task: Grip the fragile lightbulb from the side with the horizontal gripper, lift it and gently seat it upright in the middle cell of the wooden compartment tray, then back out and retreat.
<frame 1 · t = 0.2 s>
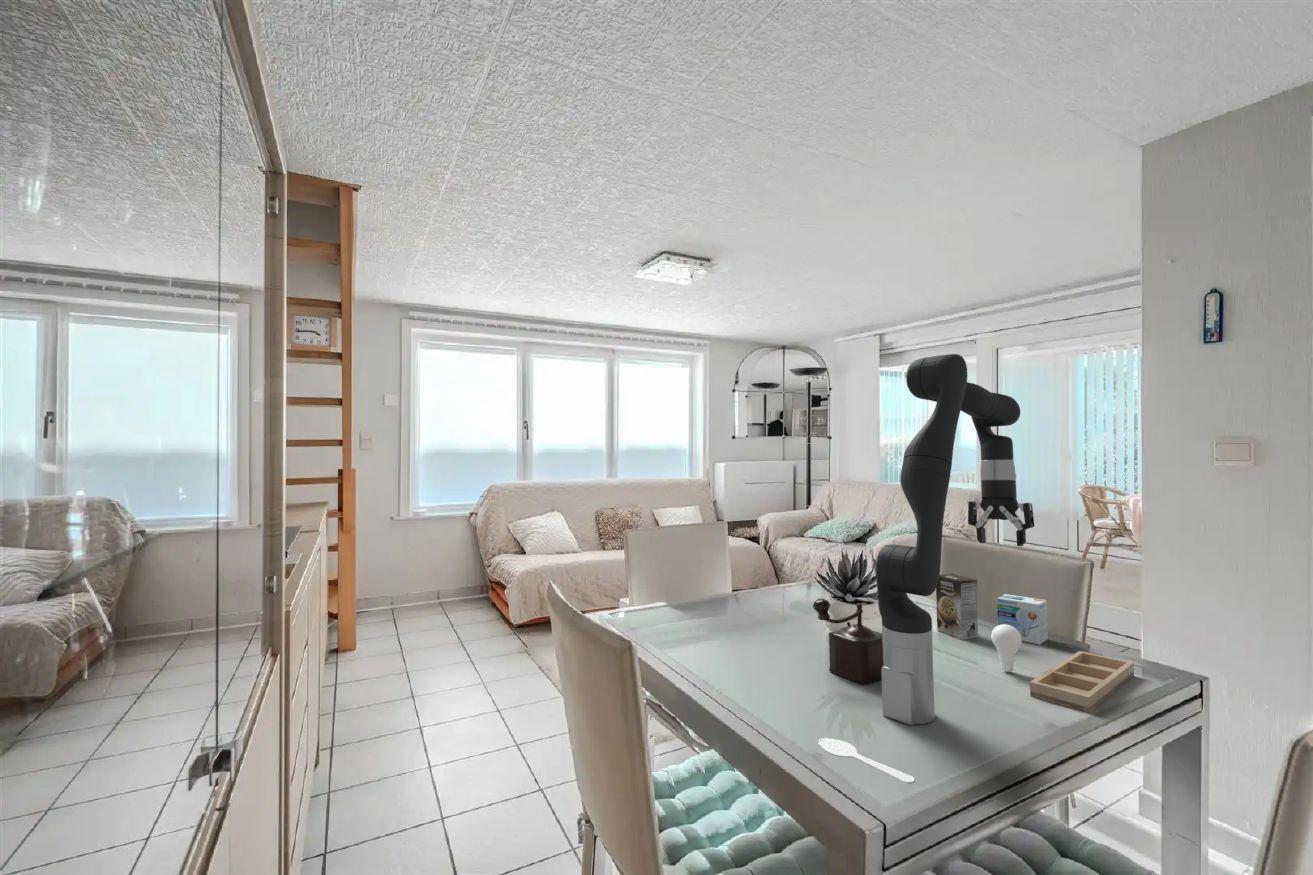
hand: (1001, 544, 146), 29 cm above the table, tool pointing down, fingers open, 8 cm apart
wooden compartment tray: (1084, 685, 130), on the table
lightbulb: (1007, 672, 138), on the table
spoon: (863, 762, 101), on the table
cookie box: (957, 634, 167), on the table
light bulb box: (1022, 638, 163), on the table
manual coffee grinder: (852, 676, 138), on the table
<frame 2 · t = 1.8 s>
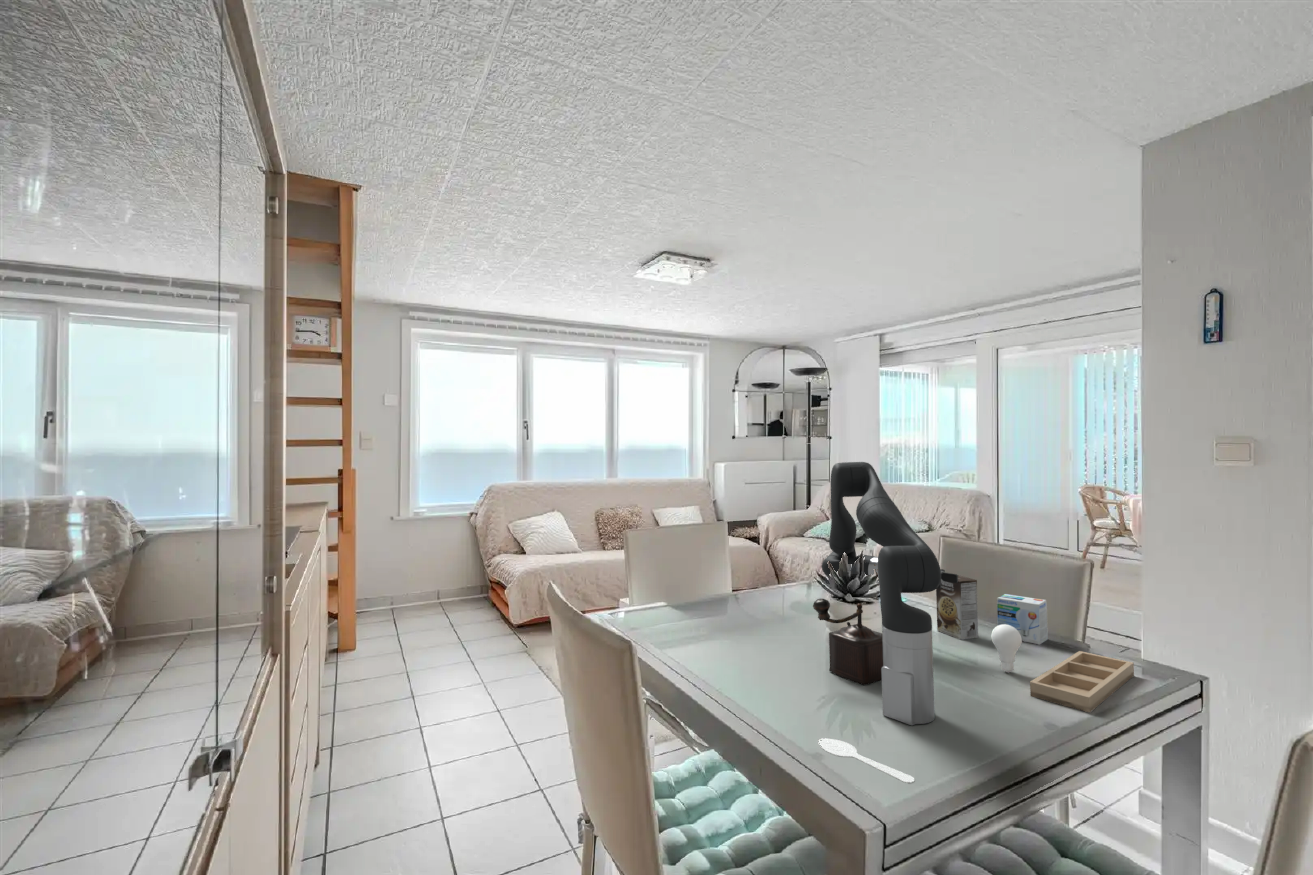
hand: (949, 581, 149), 19 cm above the table, tool horizontal, fingers open, 8 cm apart
nothing on the table moved.
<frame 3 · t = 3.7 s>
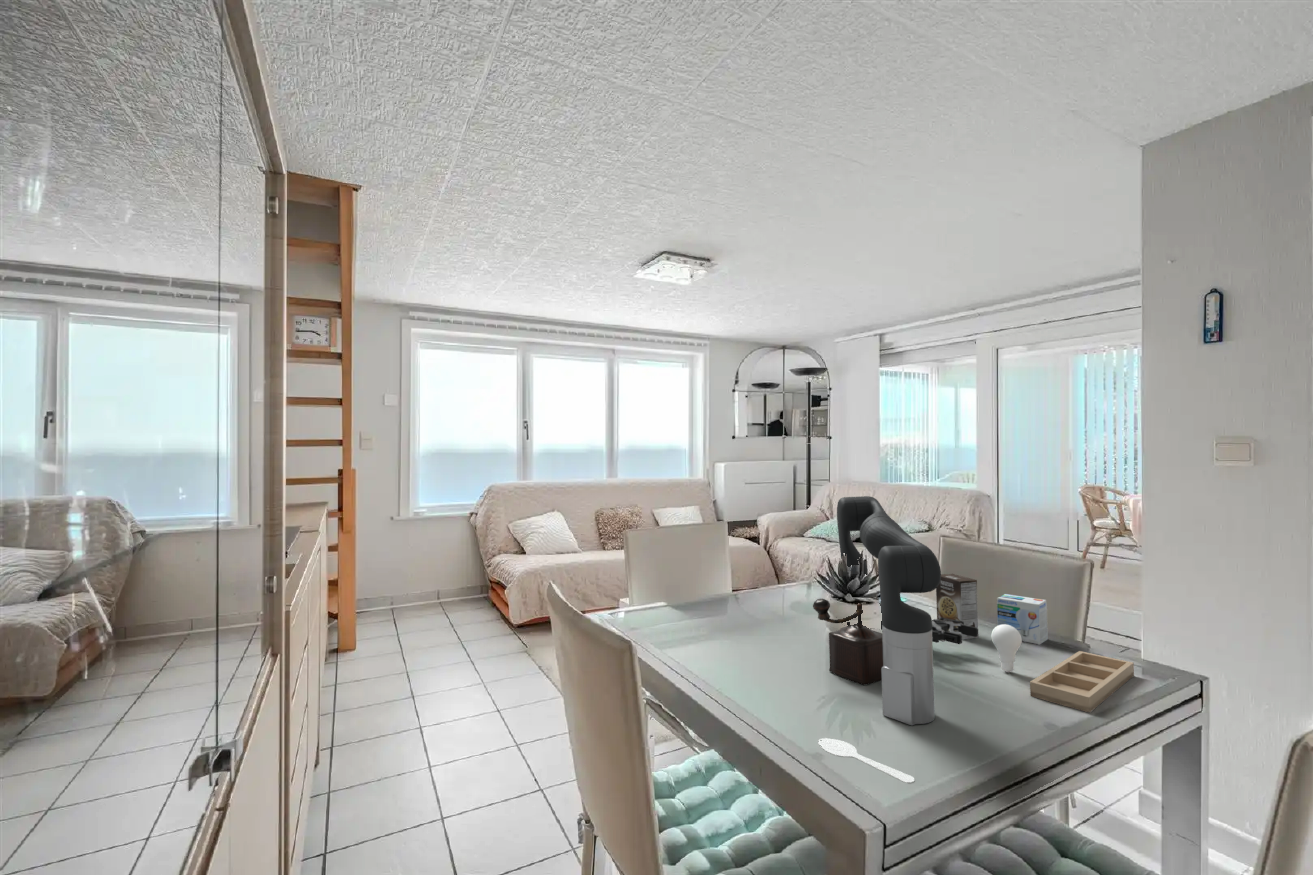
hand: (969, 636, 145), 6 cm above the table, tool horizontal, fingers open, 8 cm apart
nothing on the table moved.
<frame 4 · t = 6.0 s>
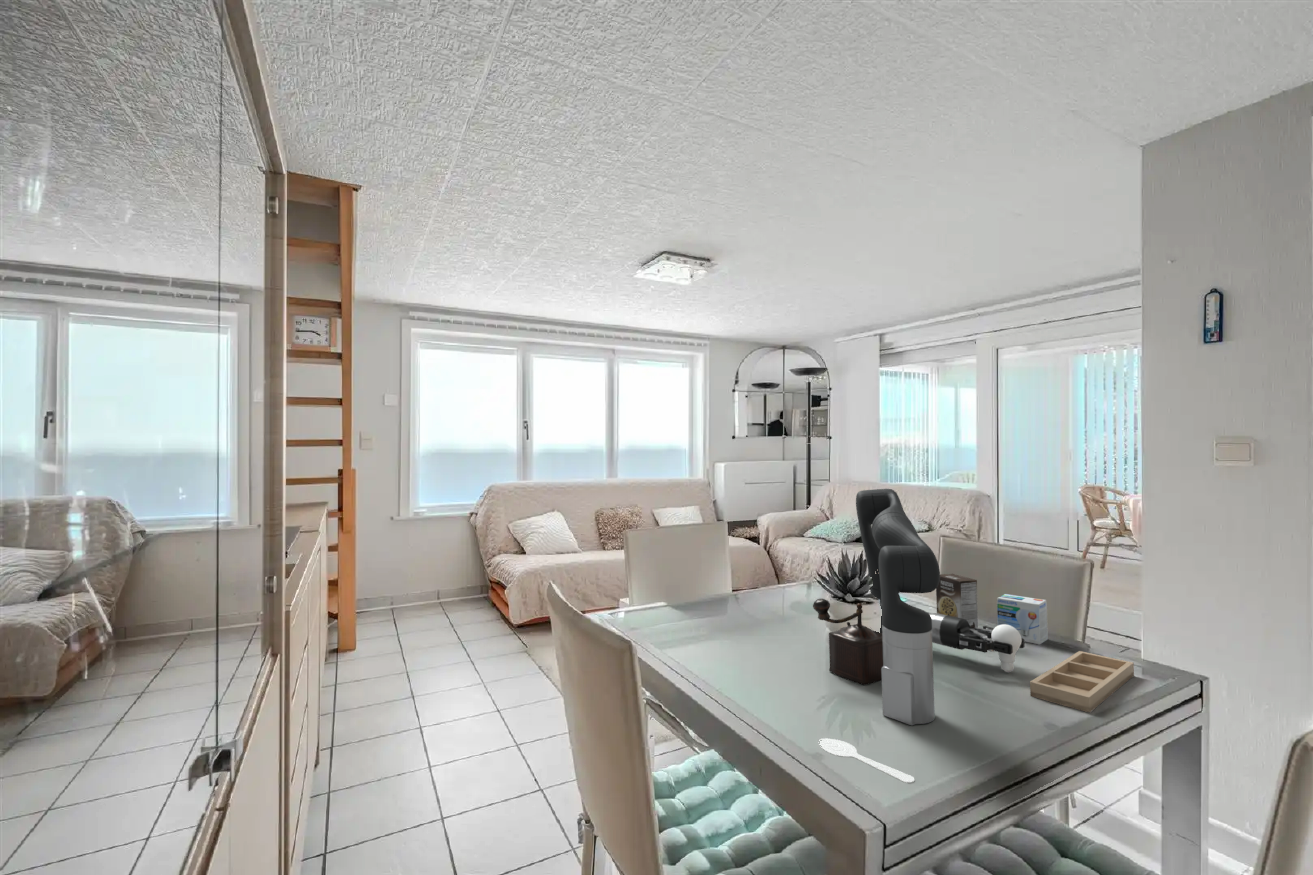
hand: (1017, 646, 137), 7 cm above the table, tool horizontal, fingers closed on lightbulb, 6 cm apart
lightbulb: (1007, 672, 138), on the table, touching gripper
everything else where it was.
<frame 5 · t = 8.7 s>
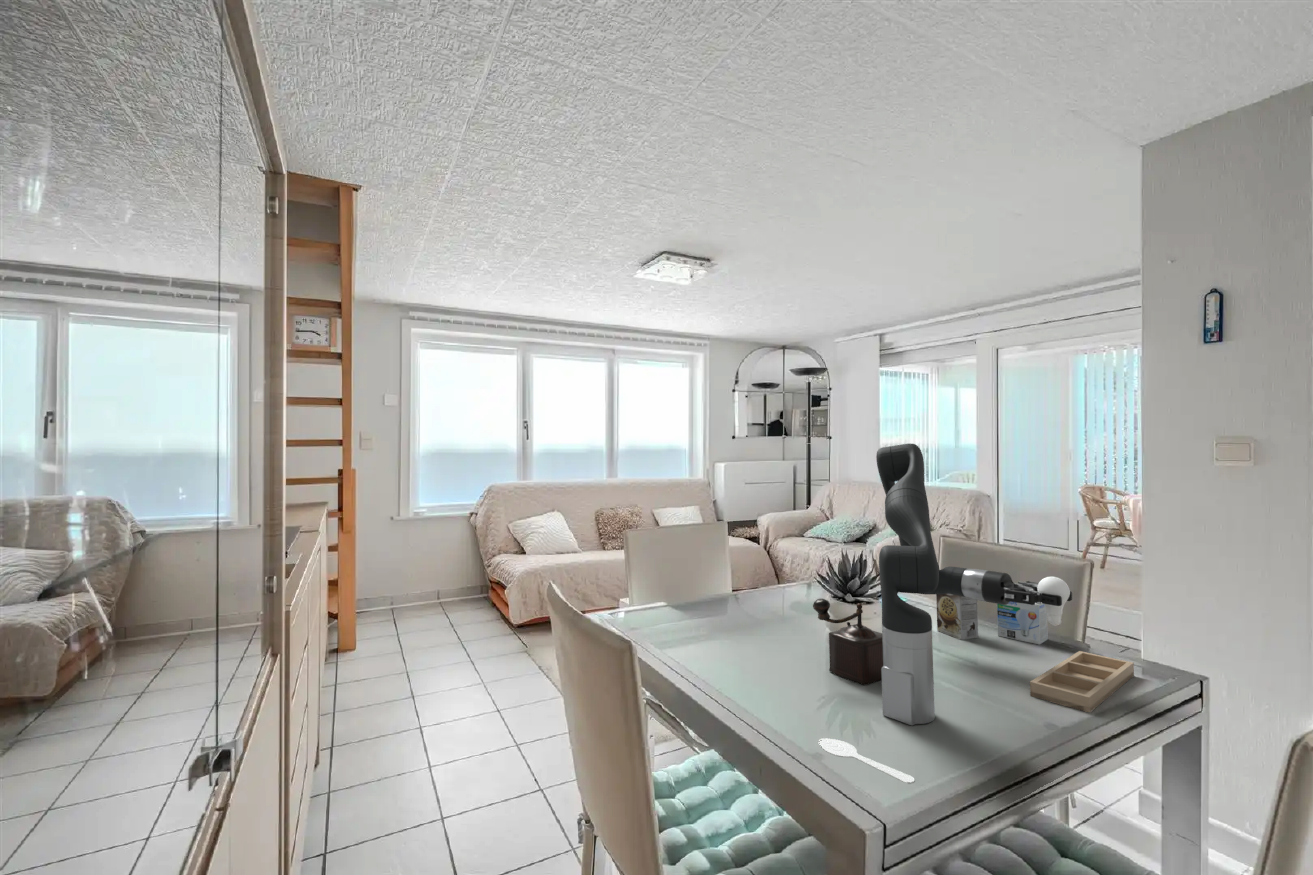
hand: (1066, 598, 132), 19 cm above the table, tool horizontal, fingers closed on lightbulb, 6 cm apart
lightbulb: (1054, 626, 133), point 12 cm above the table, touching gripper
everything else where it was.
when the fingers open (9 cm above the table, at t = 11.5 s): lightbulb drops 1 cm, resting on wooden compartment tray.
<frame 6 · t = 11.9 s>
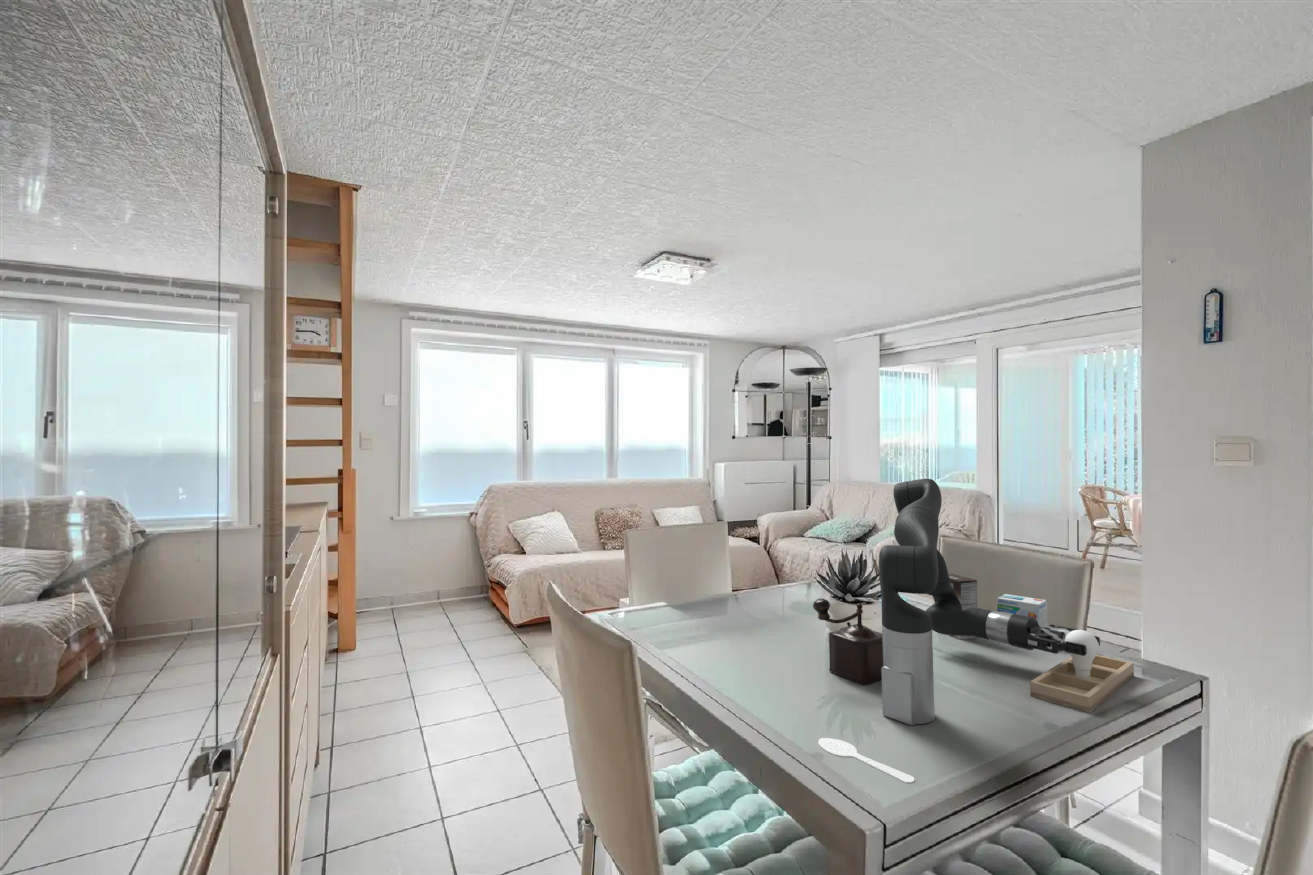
hand: (1092, 646, 129), 9 cm above the table, tool horizontal, fingers open, 8 cm apart
lightbulb: (1083, 681, 130), point 1 cm above the table, touching wooden compartment tray
everything else where it was.
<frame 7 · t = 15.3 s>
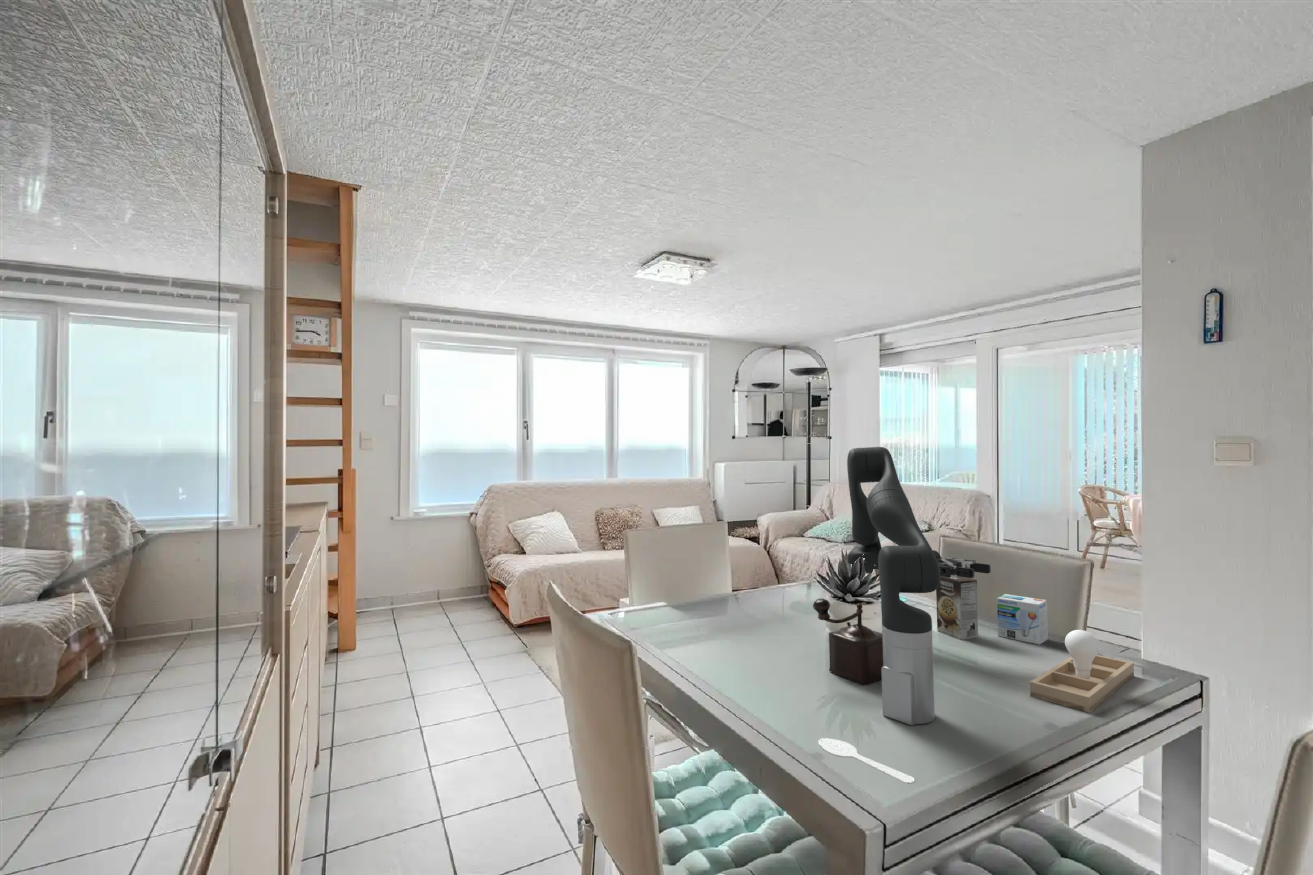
hand: (981, 571, 145), 22 cm above the table, tool horizontal, fingers open, 8 cm apart
nothing on the table moved.
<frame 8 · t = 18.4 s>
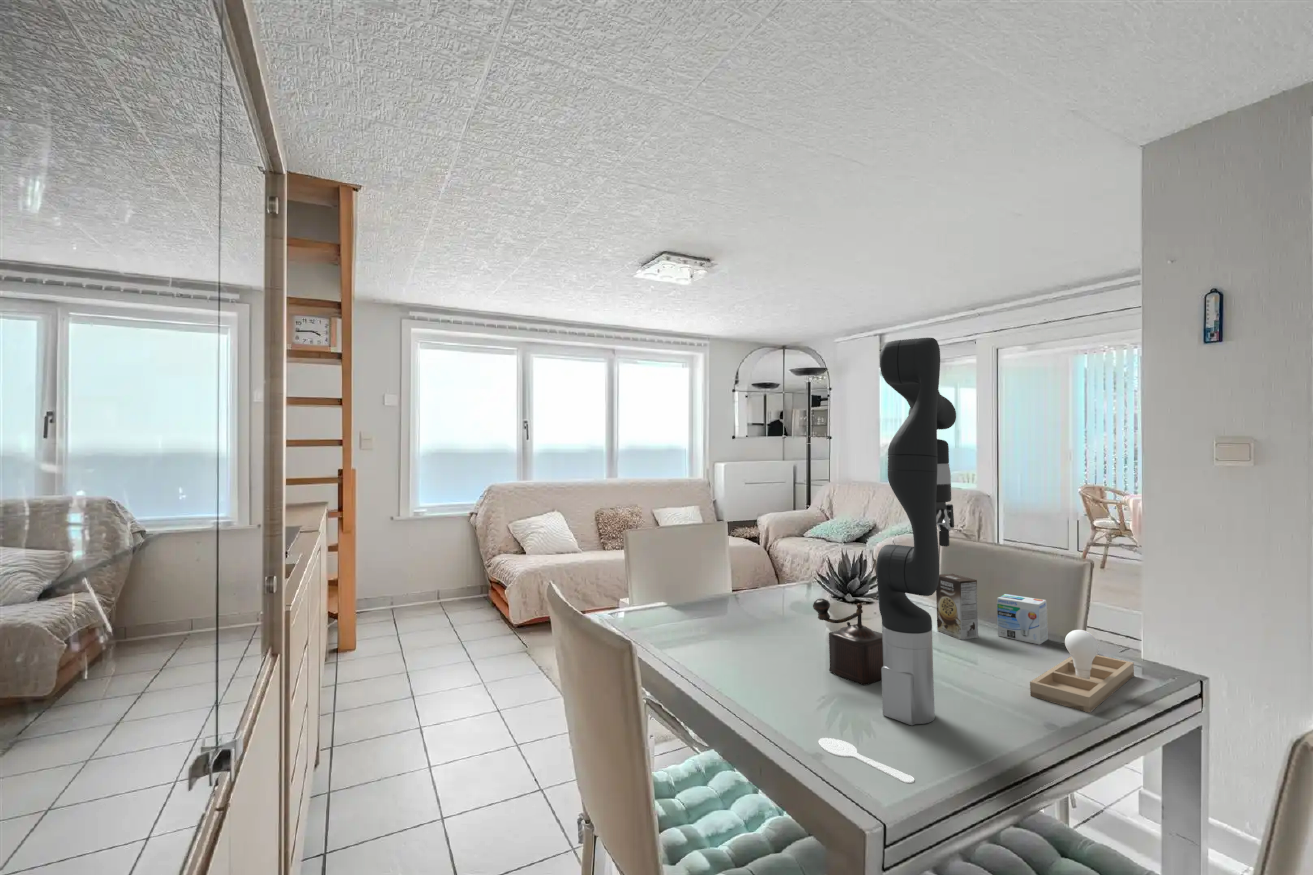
hand: (936, 547, 146), 28 cm above the table, tool pointing down, fingers open, 8 cm apart
nothing on the table moved.
at the end: lightbulb 0.2 cm off-centre on the wooden compartment tray, point 0.8 cm above the wooden compartment tray's base; lightbulb tilted 0°; the gripper is holding nothing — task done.
